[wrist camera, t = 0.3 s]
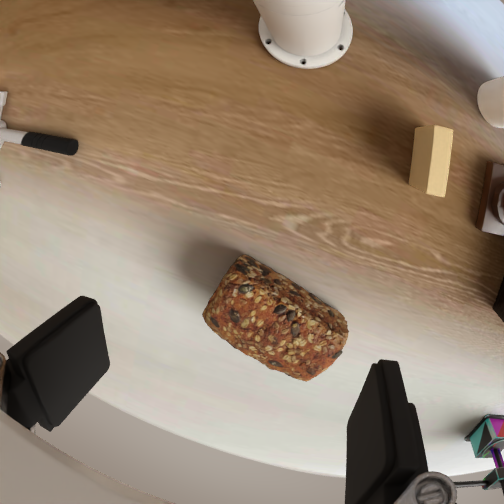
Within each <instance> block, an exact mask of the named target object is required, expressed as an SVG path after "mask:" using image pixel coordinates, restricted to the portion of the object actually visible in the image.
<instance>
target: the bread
mask: <svg viewBox="0 0 504 504" xmlns="http://www.w3.org/2000/svg"><path fill="white" fill-rule="evenodd" d="M202 315H203V317H204V320H205V322H206V323H207V325H208V326H209V327H210V328H211V329H212V331H214V332H215V333H216V334H218V335H219V336H220V337H221V338H222V339H225V340H226V341H227V342H228V343H229V344H231V345H232V346H233V347H234V348H236V349H238V350H240V351H241V352H243V353H244V354H246V355H249V356H251V357H253V358H254V359H257V360H258V361H260V362H261V363H262V364H265V365H266V366H267V367H268V368H269V369H272V370H277V371H280V372H284V373H285V374H287V375H288V376H291V377H293V378H296V379H299V380H303V381H309V380H311V379H312V378H314V377H316V376H317V375H319V374H320V373H321V372H323V371H325V370H327V369H328V367H329V366H330V365H332V364H333V362H334V361H335V360H336V359H337V358H338V357H339V356H340V355H341V354H342V351H341V350H342V349H343V347H344V345H345V344H346V340H347V337H348V332H349V331H348V329H347V326H348V325H346V324H347V321H345V317H344V316H343V315H342V314H341V313H340V312H339V311H338V310H336V309H333V308H331V307H330V306H328V305H327V304H325V303H323V302H322V301H321V300H319V299H318V298H317V297H315V296H313V295H312V294H311V293H308V292H307V291H306V290H304V289H303V288H302V287H299V286H298V285H297V284H295V283H294V282H292V281H291V280H289V279H287V278H286V277H284V276H283V275H281V274H279V273H276V272H274V271H273V270H272V269H271V268H268V267H267V266H265V265H264V264H260V262H258V261H256V260H254V259H253V258H251V257H249V256H247V255H242V256H241V257H240V256H239V258H238V259H237V260H236V261H235V262H234V263H233V265H232V266H231V267H230V269H229V270H228V272H227V273H226V274H225V276H224V277H223V279H222V281H221V283H220V284H219V286H218V288H217V289H216V291H215V293H214V294H213V296H212V297H211V298H210V300H209V302H208V305H207V307H206V308H205V310H204V312H203V314H202Z"/></svg>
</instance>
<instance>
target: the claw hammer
mask: <svg viewBox="0 0 504 504" xmlns="http://www.w3.org/2000/svg"><path fill="white" fill-rule="evenodd" d="M7 93H8V92H7V91H0V148H1V147H2V145H3V143H4V141H6V142H12V143H16V144H21V145H23V146H28V147H33V148H38V149H43V150H47V151H52V152H56V153H61V154H65V155H74V154H75V153H76V152H77V150H78V141H77V140H73V139H68V138H63V137H57V136H52V135H46V134H41V133H35V132H25V131H19V130H12V129H6V123H5V121H3V120H1V116H2V109H3V105H5V104H6V98H7ZM0 187H1V182H0Z"/></svg>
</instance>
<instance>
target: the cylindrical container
mask: <svg viewBox="0 0 504 504" xmlns="http://www.w3.org/2000/svg"><path fill="white" fill-rule="evenodd" d="M477 102H478V107H479V110H480V112H481V114H482V116H483V117H484V119H485V120H486V121H487V122H488V123H489V124H490V125H492V126H494V127H497V128H504V76H503V77H500V78H496V79H493V80H490V81H487V82H485V83H483V84H482V85H481V86H480V88H479V90H478V94H477Z"/></svg>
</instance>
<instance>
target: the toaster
mask: <svg viewBox="0 0 504 504" xmlns="http://www.w3.org/2000/svg"><path fill="white" fill-rule="evenodd" d="M493 310H494V311H495V312H496V313H497V314H498V316H499V317H500V318H501V319H502V321H503V322H504V277H503V281H502V284H501V287H500V289H499V292H498V295H497V298H496V301H495V303H494V306H493Z"/></svg>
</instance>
